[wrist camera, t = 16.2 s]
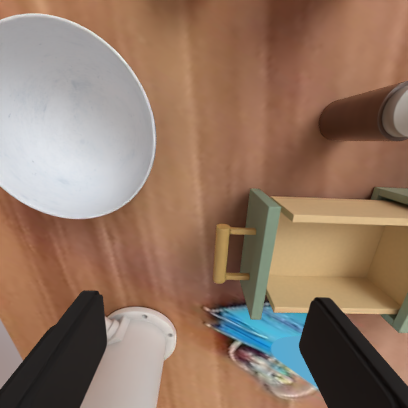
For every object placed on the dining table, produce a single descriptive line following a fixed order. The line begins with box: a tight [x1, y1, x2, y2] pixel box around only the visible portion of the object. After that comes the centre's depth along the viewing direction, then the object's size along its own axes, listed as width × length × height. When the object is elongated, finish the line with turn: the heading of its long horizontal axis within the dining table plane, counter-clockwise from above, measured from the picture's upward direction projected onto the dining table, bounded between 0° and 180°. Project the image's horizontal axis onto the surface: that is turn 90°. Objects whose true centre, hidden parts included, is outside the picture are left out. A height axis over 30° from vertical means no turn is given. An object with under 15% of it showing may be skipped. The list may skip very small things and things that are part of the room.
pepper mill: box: [319, 81, 408, 141], centre depth 19 cm, size 4×4×9 cm
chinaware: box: [0, 14, 156, 219], centre depth 19 cm, size 15×15×8 cm
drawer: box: [213, 189, 408, 320], centre depth 23 cm, size 23×14×7 cm, turn 87°
